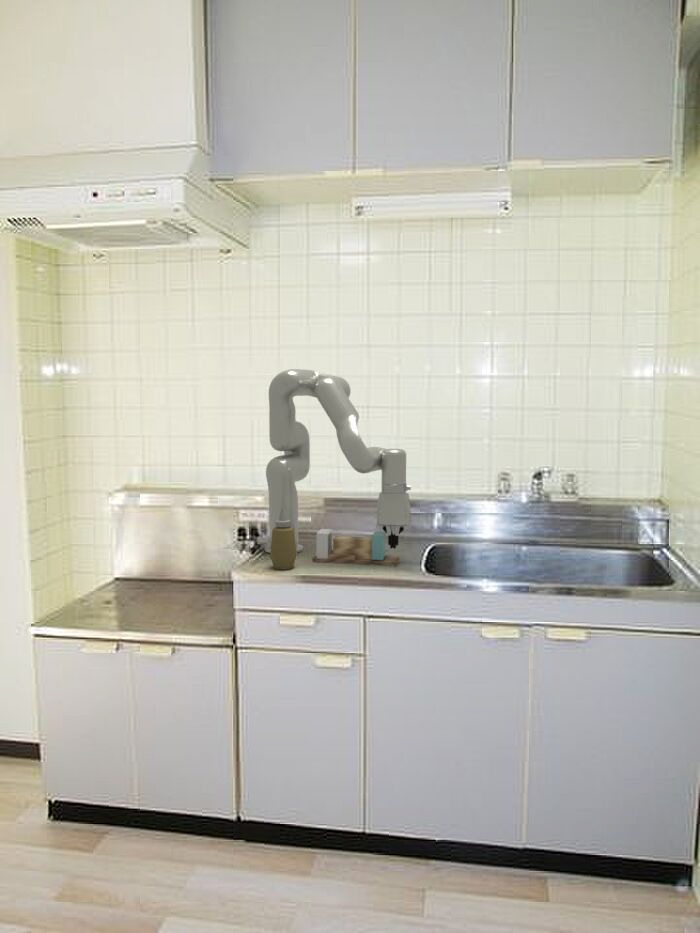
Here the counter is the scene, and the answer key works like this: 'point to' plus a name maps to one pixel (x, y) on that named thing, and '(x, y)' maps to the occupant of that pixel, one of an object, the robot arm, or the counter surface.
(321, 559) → the walnut board
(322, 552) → the grey upright block
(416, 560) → the counter surface
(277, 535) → the squeeze bottle
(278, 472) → the robot arm
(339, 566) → the counter surface
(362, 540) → the light wooden block
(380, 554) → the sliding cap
